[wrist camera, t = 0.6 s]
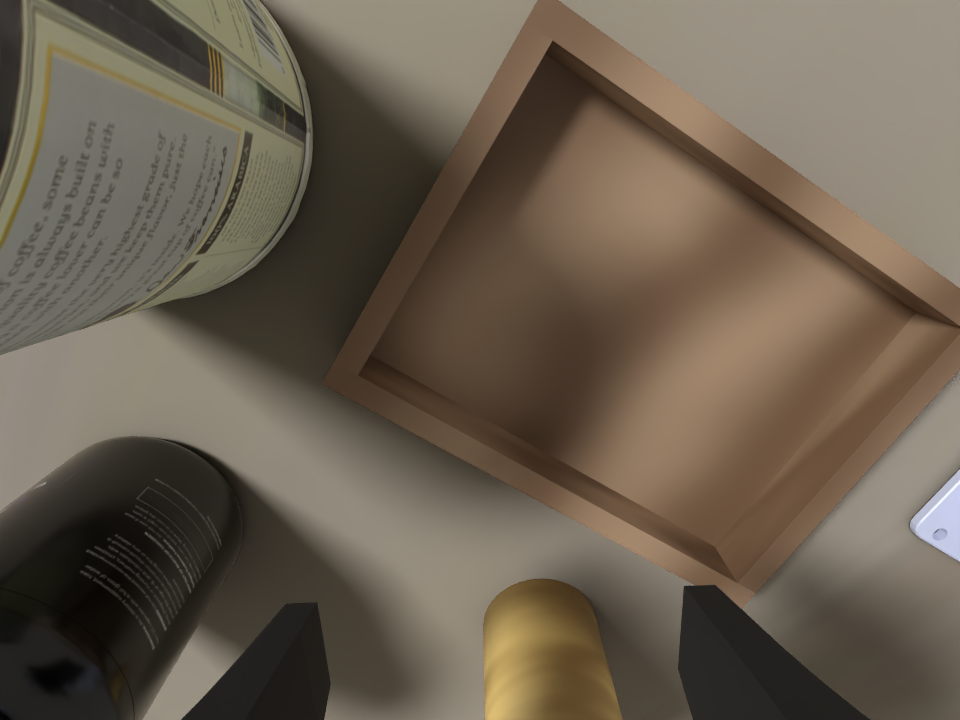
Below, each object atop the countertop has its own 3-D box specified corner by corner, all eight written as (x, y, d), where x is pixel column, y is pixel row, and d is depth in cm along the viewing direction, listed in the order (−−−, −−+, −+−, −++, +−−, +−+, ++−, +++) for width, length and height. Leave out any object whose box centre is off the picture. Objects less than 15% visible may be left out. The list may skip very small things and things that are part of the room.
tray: (938, 299, 20) (1004, 319, 17) (712, 561, 23) (740, 609, 21) (533, 13, 17) (543, -11, 15) (339, 356, 20) (321, 383, 18)
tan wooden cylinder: (617, 609, 24) (662, 751, 18) (555, 685, 25) (578, 840, 19) (522, 560, 23) (538, 692, 17) (462, 641, 24) (458, 788, 19)
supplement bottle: (43, 426, 21) (-459, 741, 10) (240, 432, 21) (-28, 749, 10) (78, 588, 23) (-300, 999, 12) (256, 592, 23) (50, 1004, 12)
